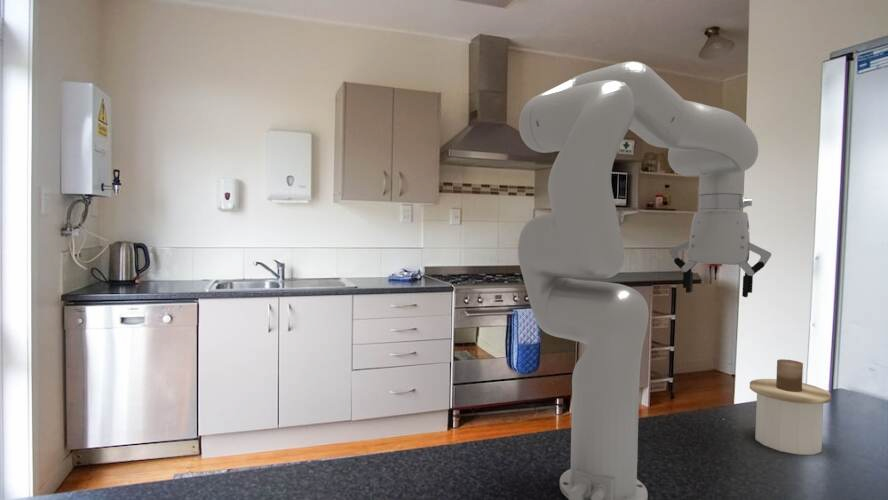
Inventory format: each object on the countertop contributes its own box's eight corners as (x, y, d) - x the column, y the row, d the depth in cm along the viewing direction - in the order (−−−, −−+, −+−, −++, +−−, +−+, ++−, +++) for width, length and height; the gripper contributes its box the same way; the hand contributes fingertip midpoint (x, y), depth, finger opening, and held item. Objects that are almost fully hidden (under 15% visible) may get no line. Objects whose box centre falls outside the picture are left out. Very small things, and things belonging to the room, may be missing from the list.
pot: (823, 459, 89) (825, 405, 89) (754, 445, 95) (756, 395, 95) (818, 439, 98) (820, 390, 98) (756, 428, 103) (757, 381, 103)
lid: (834, 409, 87) (836, 375, 87) (748, 395, 94) (749, 364, 94) (827, 390, 98) (828, 359, 98) (750, 379, 105) (751, 351, 105)
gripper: (774, 206, 97) (770, 296, 97) (675, 207, 106) (671, 289, 107) (772, 203, 91) (768, 300, 91) (667, 204, 100) (664, 291, 101)
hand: (716, 294), depth 99 cm, fingers open, 9 cm apart
